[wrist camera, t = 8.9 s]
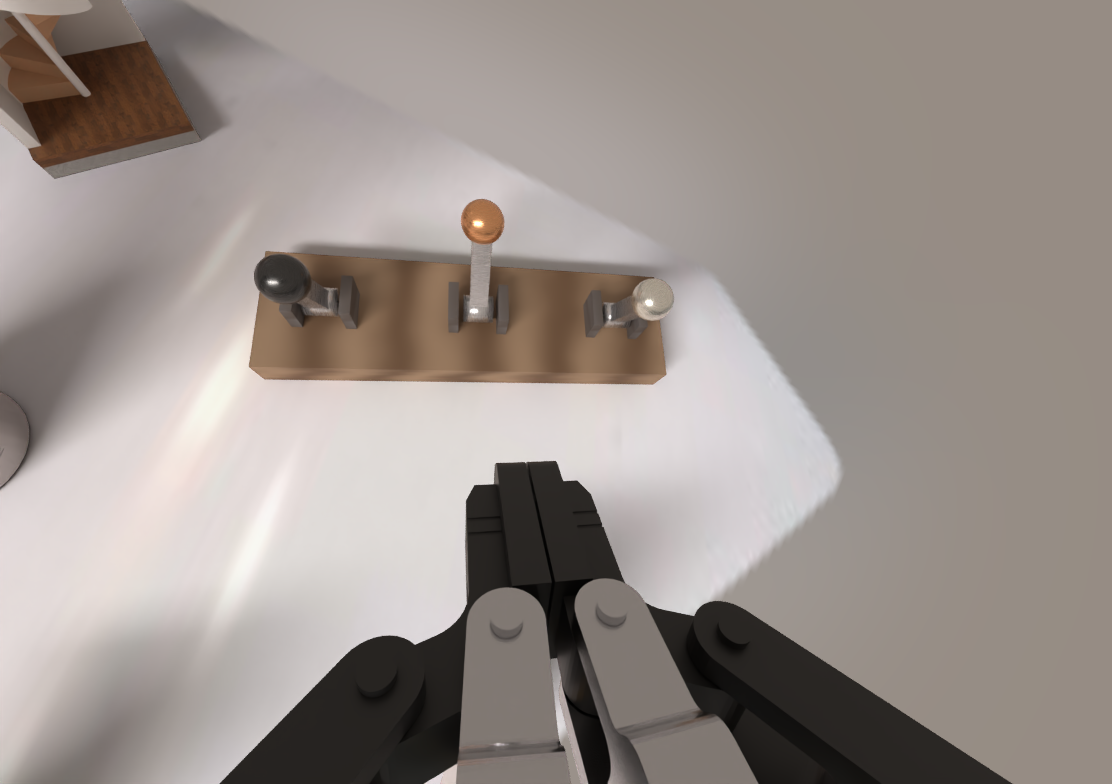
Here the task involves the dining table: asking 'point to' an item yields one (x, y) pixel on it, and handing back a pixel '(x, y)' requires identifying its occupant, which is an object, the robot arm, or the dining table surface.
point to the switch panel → (455, 327)
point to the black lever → (294, 286)
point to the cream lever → (640, 304)
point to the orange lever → (480, 257)
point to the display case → (84, 86)
